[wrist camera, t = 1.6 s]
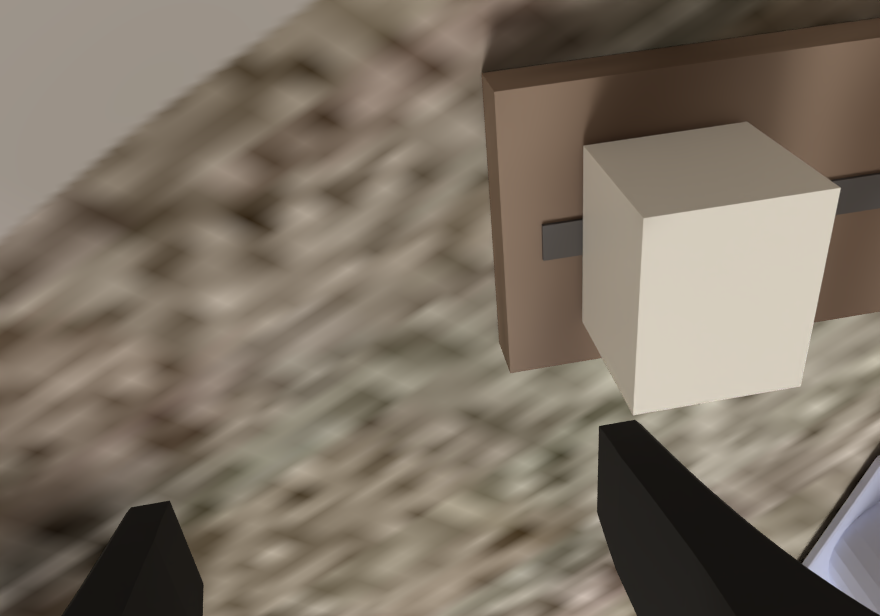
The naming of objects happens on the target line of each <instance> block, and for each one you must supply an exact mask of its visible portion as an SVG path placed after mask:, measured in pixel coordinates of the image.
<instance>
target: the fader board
mask: <svg viewBox="0 0 880 616" xmlns="http://www.w3.org/2000/svg"><path fill="white" fill-rule="evenodd" d="M482 87H483V102H484V117H485V133H486V148H487V163H488V179H489V194H490V209H491V224H492V240H493V255H494V270H495V286H496V301H497V316H498V331H499V343H500V346H501V349H502V352H503V354H504V357H505V360H506V363H507V365H508V368H509V371H510V373H514V372H520V371H526V370H532V369H538V368H544V367H550V366H556V365H562V364H568V363H574V362H580V361H586V360H592V359H598V358H602V357H601V355H600V353H599V351H598V350H597V348H596V346H595V344H594V342H593V340H592V338H591V337H590V335H589V333H588V331H587V329H586V327H585V326H584V324H583V322H582V286H583V146H584V145H591V144H598V143H605V142H612V141H618V140H625V139H632V138H639V137H646V136H652V135H659V134H666V133H673V132H680V131H686V130H693V129H700V128H707V127H714V126H720V125H727V124H734V123H741V122H748V123H750V124H751V125H753V126H754V127H755V128H757V129H758V130H760V131H761V132H762V133H764V134H765V135H767V136H768V137H770V138H771V139H772V140H774V141H775V142H777V143H778V144H779V145H781V146H782V147H784V148H785V149H787V150H788V151H789V152H791V153H792V154H794V155H795V156H797V157H798V158H799V159H801V160H802V161H804V162H805V163H806V164H808V165H809V166H811V167H812V168H814V169H815V170H816V171H818V172H819V173H821V174H822V175H823V176H825V177H826V178H828V179H829V180H831V181H832V182H833V183H835V184H836V185H838V186H839V187H840V188H841V190H840V194H839V199H838V204H837V209H836V214H835V219H834V224H833V229H832V234H831V239H830V244H829V249H828V254H827V259H826V264H825V269H824V274H823V279H822V283H821V288H820V293H819V298H818V303H817V308H816V313H815V318H814V322H820V321H826V320H832V319H838V318H844V317H850V316H856V315H862V314H868V313H874V312H880V18H874V19H867V20H860V21H852V22H845V23H838V24H831V25H824V26H816V27H809V28H802V29H795V30H788V31H781V32H773V33H766V34H759V35H752V36H745V37H737V38H730V39H723V40H716V41H709V42H701V43H694V44H687V45H680V46H673V47H665V48H658V49H651V50H644V51H637V52H629V53H622V54H615V55H608V56H601V57H593V58H586V59H579V60H572V61H565V62H557V63H550V64H543V65H536V66H529V67H522V68H514V69H507V70H500V71H493V72H486V73H482Z"/></svg>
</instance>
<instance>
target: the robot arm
mask: <svg viewBox="0 0 880 616" xmlns="http://www.w3.org/2000/svg"><path fill="white" fill-rule="evenodd" d="M597 513H598V516H599V520H600V523H601V526H602V529H603V532H604V535H605V538H606V541H607V544H608V547H609V550H610V553H611V556H612V559H613V562H614V565H615V568H616V570H617V573H618V575H619V577H620V579H621V581H622V584H623V586H624V588H625V590H626V592H627V595H628V597H629V599H630V601H631V603H632V605H633V608H634V610H635V612H636V614H637V616H880V455H879V456H878V457H877V458H876V459H875V460H874V461H873V463H872V464H871V466H870V467H869V469H868V470H867V471H866V473H865V474H864V476H863V477H862V479H861V480H860V481H859V483H858V484H857V486H856V487H855V489H854V490H853V491H852V493H851V494H850V496H849V497H848V499H847V500H846V501H845V503H844V504H843V506H842V507H841V509H840V510H839V511H838V513H837V514H836V516H835V517H834V519H833V520H832V521H831V523H830V524H829V526H828V527H827V529H826V530H825V531H824V533H823V534H822V536H821V537H820V538H819V540H818V541H817V543H816V544H815V546H814V547H813V548H812V550H811V551H810V553H809V554H808V556H807V557H806V558H805V560H804V561H803V563H800V562H799V561H797V560H796V559H795V558H793V557H792V556H791V555H789V554H788V553H787V552H785V551H784V550H783V549H781V548H780V547H779V546H777V545H776V544H775V543H774V542H772V541H771V540H770V539H768V538H767V537H766V536H765V535H763V534H762V533H761V532H760V531H758V530H757V529H756V528H755V527H753V526H752V525H751V524H750V523H748V522H747V521H746V520H745V519H744V518H742V517H741V516H740V515H739V514H738V513H736V512H735V511H734V510H733V509H732V508H731V507H729V506H728V505H727V504H726V503H725V502H724V501H722V500H721V499H720V498H719V497H718V496H717V495H716V494H714V493H713V492H712V491H711V490H710V489H709V488H707V487H706V486H705V485H704V484H703V483H702V482H701V481H700V480H699V479H698V478H696V477H695V476H694V475H693V474H692V473H691V472H690V471H689V470H688V469H687V468H686V467H685V466H684V465H682V464H681V463H680V462H679V461H678V460H677V459H676V458H675V457H674V456H673V455H672V454H671V453H670V452H669V451H668V450H667V449H666V448H665V447H664V446H663V445H662V444H661V443H659V442H658V441H657V440H656V439H655V438H654V437H653V436H652V435H651V434H650V433H649V432H648V431H647V430H646V429H645V428H644V427H643V426H642V425H641V424H640V423H639V422H637V421H636V420H631V421H626V422H620V423H614V424H608V425H603V426H599V452H598V497H597ZM62 616H203V582H202V579H201V577H200V574H199V572H198V569H197V567H196V564H195V562H194V559H193V557H192V554H191V552H190V549H189V547H188V545H187V542H186V540H185V537H184V535H183V532H182V530H181V527H180V525H179V522H178V520H177V517H176V515H175V513H174V510H173V508H172V505H171V503H170V501H166V502H160V503H154V504H148V505H143V506H137V507H131V508H130V509H129V511H128V512H127V513H126V515H125V516H124V518H123V519H122V521H121V523H120V524H119V526H118V528H117V529H116V531H115V532H114V534H113V536H112V537H111V539H110V541H109V542H108V544H107V546H106V547H105V549H104V550H103V552H102V554H101V555H100V557H99V559H98V560H97V562H96V563H95V565H94V567H93V568H92V570H91V571H90V573H89V575H88V576H87V578H86V579H85V581H84V582H83V584H82V586H81V587H80V589H79V590H78V592H77V593H76V595H75V596H74V598H73V599H72V601H71V602H70V604H69V605H68V607H67V608H66V610H65V611H64V613H63V615H62Z"/></svg>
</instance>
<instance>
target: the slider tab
mask: <svg viewBox="0 0 880 616" xmlns="http://www.w3.org/2000/svg"><path fill="white" fill-rule="evenodd" d="M840 190H841V188H840V187H839V186H838V185H836V184H835V183H833V182H832V181H831V180H829V179H828V178H826V177H825V176H823V175H822V174H821V173H819V172H818V171H816V170H815V169H814V168H812V167H811V166H809V165H808V164H806V163H805V162H804V161H802V160H801V159H799V158H798V157H797V156H795V155H794V154H792V153H791V152H789V151H788V150H787V149H785V148H784V147H782V146H781V145H779V144H778V143H777V142H775V141H774V140H772V139H771V138H770V137H768V136H767V135H765V134H764V133H762V132H761V131H760V130H758V129H757V128H755V127H754V126H753V125H751V124H750V123H748V122H741V123H734V124H727V125H720V126H714V127H707V128H700V129H693V130H686V131H680V132H673V133H666V134H659V135H652V136H646V137H639V138H632V139H625V140H618V141H612V142H605V143H598V144H591V145H584V146H583V286H582V322H583V324H584V326H585V327H586V329H587V331H588V333H589V335H590V337H591V338H592V340H593V342H594V344H595V346H596V348H597V350H598V351H599V353H600V355H601V357H602V359H603V361H604V362H605V364H606V366H607V368H608V370H609V372H610V374H611V375H612V377H613V379H614V381H615V383H616V385H617V386H618V388H619V390H620V392H621V394H622V396H623V397H624V399H625V401H626V403H627V405H628V407H629V409H630V410H631V412H632V414H633V415H637V414H643V413H648V412H654V411H660V410H666V409H672V408H677V407H683V406H689V405H695V404H701V403H706V402H712V401H718V400H724V399H729V398H735V397H741V396H747V395H753V394H758V393H764V392H770V391H776V390H782V389H787V388H793V387H799V386H801V382H802V377H803V373H804V368H805V363H806V358H807V353H808V348H809V343H810V338H811V333H812V328H813V323H814V318H815V313H816V308H817V303H818V298H819V293H820V288H821V283H822V279H823V274H824V269H825V264H826V259H827V254H828V249H829V244H830V239H831V234H832V229H833V224H834V219H835V214H836V209H837V204H838V199H839V194H840Z"/></svg>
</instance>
